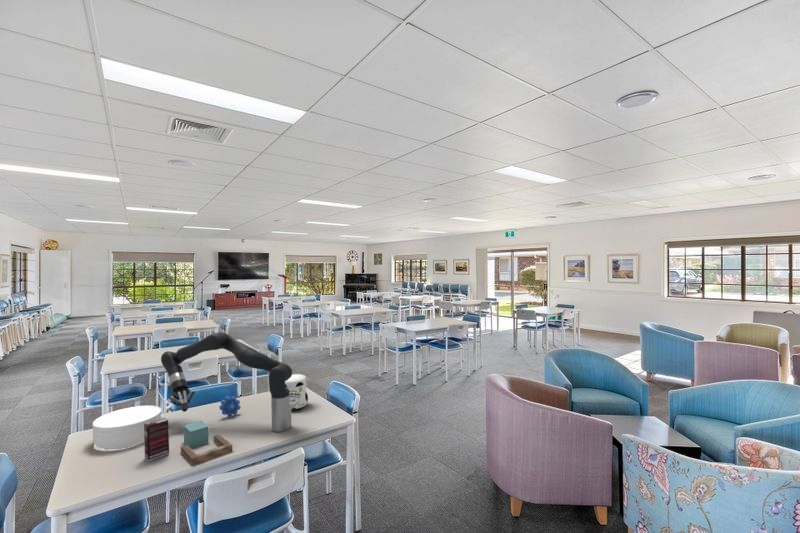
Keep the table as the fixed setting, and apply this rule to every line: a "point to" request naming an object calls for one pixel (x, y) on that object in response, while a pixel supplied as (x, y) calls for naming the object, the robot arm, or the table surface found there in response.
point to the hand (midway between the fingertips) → (185, 410)
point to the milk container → (297, 391)
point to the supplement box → (156, 439)
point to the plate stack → (123, 427)
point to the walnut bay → (196, 459)
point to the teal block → (196, 434)
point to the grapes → (230, 406)
